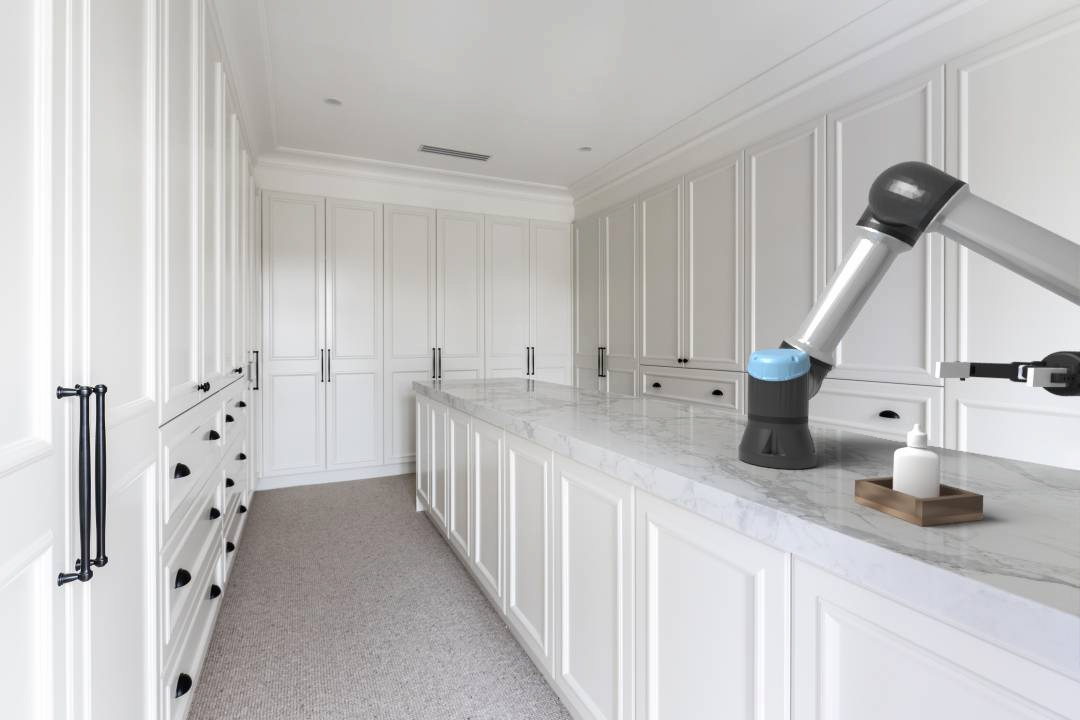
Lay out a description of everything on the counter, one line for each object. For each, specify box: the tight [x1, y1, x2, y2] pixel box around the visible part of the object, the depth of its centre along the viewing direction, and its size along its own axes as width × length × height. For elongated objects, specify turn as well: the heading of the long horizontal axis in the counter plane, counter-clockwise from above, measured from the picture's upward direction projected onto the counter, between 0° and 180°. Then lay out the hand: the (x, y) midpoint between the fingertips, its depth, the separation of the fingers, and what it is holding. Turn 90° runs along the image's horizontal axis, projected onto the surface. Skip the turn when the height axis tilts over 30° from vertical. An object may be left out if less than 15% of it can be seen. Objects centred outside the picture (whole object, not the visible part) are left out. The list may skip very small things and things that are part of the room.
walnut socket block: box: [854, 476, 984, 527], centre depth 77 cm, size 11×11×4 cm
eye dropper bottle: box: [892, 423, 941, 498], centre depth 77 cm, size 4×6×12 cm
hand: (980, 373), depth 81 cm, fingers open, 13 cm apart
